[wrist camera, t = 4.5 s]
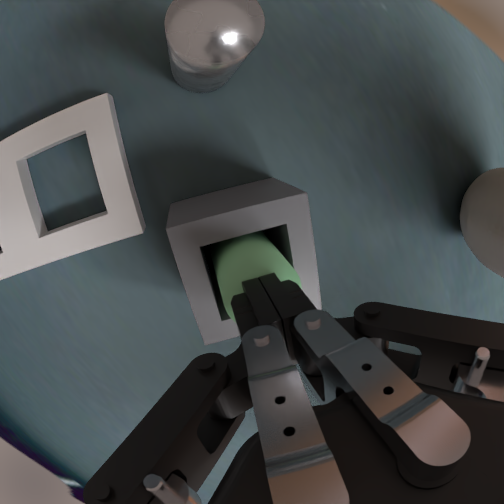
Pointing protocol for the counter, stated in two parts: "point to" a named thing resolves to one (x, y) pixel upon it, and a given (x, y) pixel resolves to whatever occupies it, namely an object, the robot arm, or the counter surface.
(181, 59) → the cylinder
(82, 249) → the grey flat frame
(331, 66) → the counter surface
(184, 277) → the grey square holder
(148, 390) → the counter surface
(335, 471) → the robot arm
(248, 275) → the button
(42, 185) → the counter surface
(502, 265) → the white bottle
